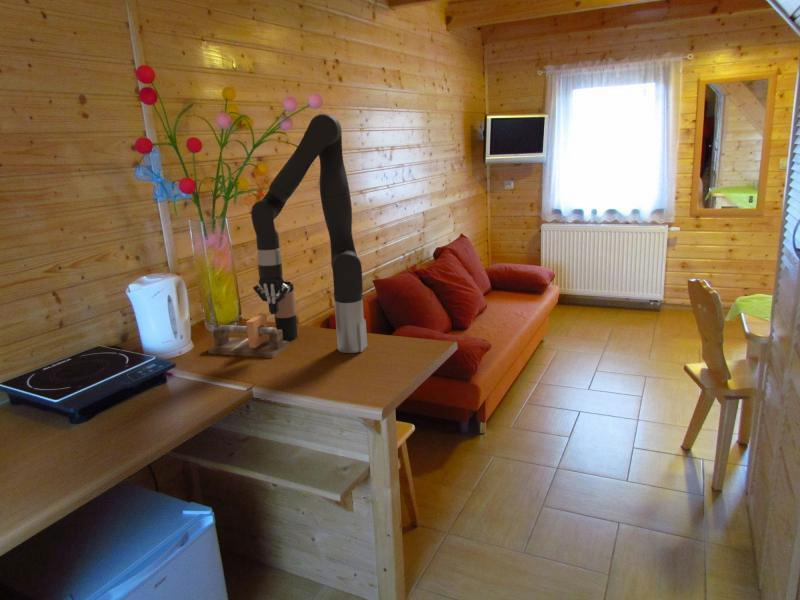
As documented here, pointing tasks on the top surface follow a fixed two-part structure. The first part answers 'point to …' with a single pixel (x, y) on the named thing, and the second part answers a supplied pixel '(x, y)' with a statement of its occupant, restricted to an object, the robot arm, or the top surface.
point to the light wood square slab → (256, 330)
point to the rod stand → (247, 342)
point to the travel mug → (287, 315)
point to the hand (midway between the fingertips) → (274, 313)
